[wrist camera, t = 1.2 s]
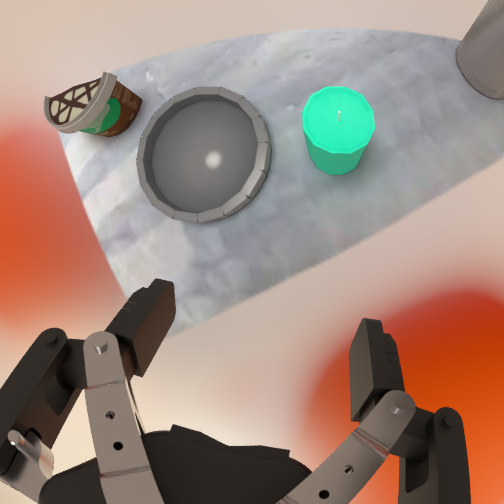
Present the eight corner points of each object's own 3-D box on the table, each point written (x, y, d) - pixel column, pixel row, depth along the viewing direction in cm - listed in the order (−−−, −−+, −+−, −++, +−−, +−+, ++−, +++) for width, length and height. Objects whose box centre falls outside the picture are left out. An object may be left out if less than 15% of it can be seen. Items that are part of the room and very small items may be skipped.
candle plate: (189, 79, 35) (179, 71, 32) (296, 128, 33) (294, 120, 30) (130, 184, 38) (117, 181, 35) (226, 247, 36) (217, 249, 33)
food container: (82, 150, 40) (35, 139, 30) (87, 113, 39) (42, 97, 30) (146, 138, 37) (98, 118, 27) (150, 97, 37) (107, 70, 27)
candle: (332, 114, 31) (334, 64, 20) (372, 149, 31) (394, 113, 19) (297, 150, 33) (282, 113, 21) (337, 186, 32) (343, 166, 21)
